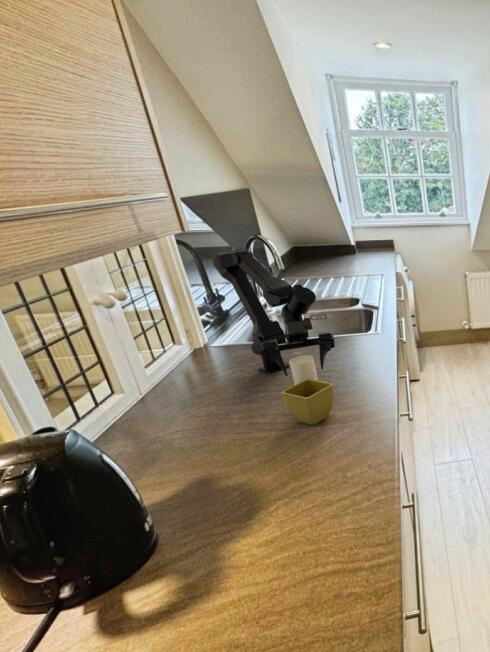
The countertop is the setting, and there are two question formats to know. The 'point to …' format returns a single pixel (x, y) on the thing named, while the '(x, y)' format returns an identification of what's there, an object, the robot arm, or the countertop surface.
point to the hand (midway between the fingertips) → (304, 372)
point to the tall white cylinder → (303, 368)
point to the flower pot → (309, 400)
